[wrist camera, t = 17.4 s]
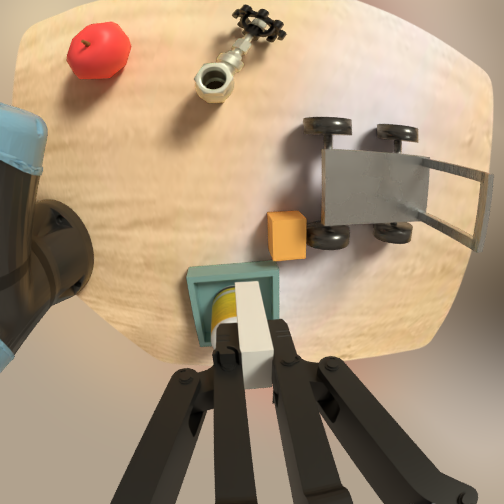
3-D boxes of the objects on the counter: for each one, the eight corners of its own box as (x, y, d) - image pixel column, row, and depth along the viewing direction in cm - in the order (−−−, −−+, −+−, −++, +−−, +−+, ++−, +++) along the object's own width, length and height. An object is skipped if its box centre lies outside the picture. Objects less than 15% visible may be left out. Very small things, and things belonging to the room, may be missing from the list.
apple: (135, 24, 23) (114, 0, 15) (141, 72, 26) (119, 55, 18) (82, 47, 23) (53, 31, 15) (86, 94, 26) (54, 86, 18)
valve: (230, 117, 29) (281, 43, 26) (232, 110, 23) (293, 23, 20) (183, 93, 28) (235, 20, 24) (173, 81, 22) (237, -3, 18)
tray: (201, 334, 41) (200, 346, 38) (188, 267, 36) (186, 277, 33) (275, 327, 41) (279, 340, 39) (275, 259, 37) (279, 269, 34)
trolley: (299, 235, 36) (355, 311, 20) (297, 120, 30) (368, 102, 14) (397, 229, 37) (478, 283, 21) (402, 129, 31) (499, 137, 15)
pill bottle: (204, 294, 37) (197, 351, 27) (246, 275, 37) (255, 329, 26) (225, 327, 40) (227, 386, 29) (265, 310, 39) (278, 368, 28)
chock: (268, 248, 36) (273, 261, 33) (267, 212, 34) (272, 220, 31) (297, 246, 37) (305, 258, 33) (297, 210, 35) (306, 218, 31)
